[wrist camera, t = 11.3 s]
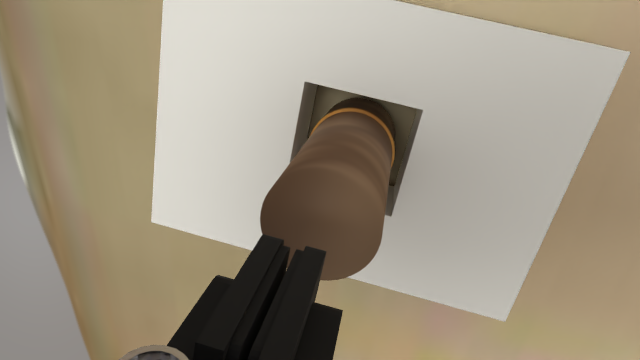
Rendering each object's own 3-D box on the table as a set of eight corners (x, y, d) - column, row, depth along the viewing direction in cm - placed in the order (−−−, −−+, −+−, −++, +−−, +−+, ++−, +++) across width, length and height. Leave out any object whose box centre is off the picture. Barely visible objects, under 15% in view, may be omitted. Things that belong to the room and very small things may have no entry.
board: (593, 43, 22) (630, 52, 18) (492, 278, 27) (505, 321, 24) (204, -42, 24) (165, -50, 20) (184, 194, 29) (151, 222, 26)
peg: (406, 102, 24) (401, 185, 13) (386, 172, 26) (367, 297, 15) (331, 84, 25) (267, 150, 14) (316, 154, 26) (249, 263, 16)
